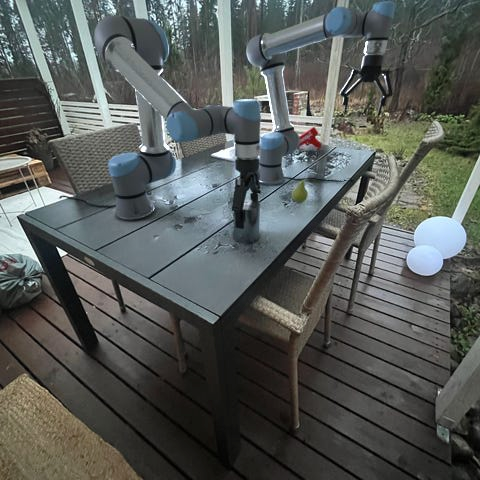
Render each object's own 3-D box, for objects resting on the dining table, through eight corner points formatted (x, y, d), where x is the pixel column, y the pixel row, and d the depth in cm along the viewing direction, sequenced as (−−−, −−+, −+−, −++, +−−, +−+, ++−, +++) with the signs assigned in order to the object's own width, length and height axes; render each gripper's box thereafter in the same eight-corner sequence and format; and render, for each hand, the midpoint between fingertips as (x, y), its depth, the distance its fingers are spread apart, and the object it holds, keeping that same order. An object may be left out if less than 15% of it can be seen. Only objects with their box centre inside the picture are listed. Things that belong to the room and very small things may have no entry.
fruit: (288, 200, 123) (290, 174, 116) (302, 197, 125) (305, 172, 119) (296, 206, 118) (299, 179, 111) (310, 203, 120) (314, 177, 114)
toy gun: (325, 144, 195) (314, 126, 192) (324, 145, 192) (313, 127, 188) (303, 157, 205) (292, 140, 202) (302, 159, 202) (291, 142, 198)
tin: (228, 235, 98) (227, 203, 91) (246, 227, 103) (246, 196, 96) (246, 245, 92) (246, 212, 85) (264, 236, 97) (265, 203, 91)
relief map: (253, 165, 166) (254, 157, 163) (211, 156, 184) (210, 148, 181) (276, 155, 184) (277, 147, 181) (235, 147, 202) (235, 140, 199)
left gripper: (243, 170, 71) (244, 238, 83) (271, 148, 91) (268, 205, 102) (217, 167, 74) (221, 234, 85) (250, 146, 93) (249, 202, 105)
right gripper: (341, 54, 104) (331, 114, 116) (412, 53, 99) (394, 116, 111) (339, 55, 111) (330, 112, 122) (406, 54, 106) (390, 113, 117)
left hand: (247, 218), depth 94 cm, fingers open, 13 cm apart
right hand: (361, 114), depth 116 cm, fingers open, 13 cm apart
